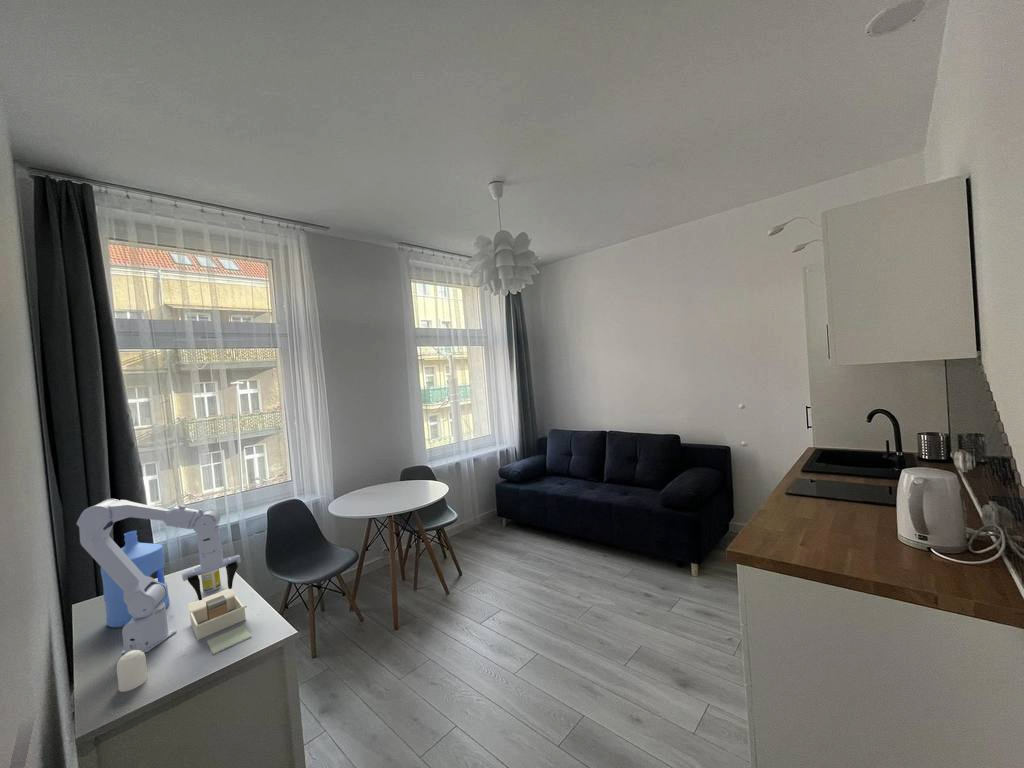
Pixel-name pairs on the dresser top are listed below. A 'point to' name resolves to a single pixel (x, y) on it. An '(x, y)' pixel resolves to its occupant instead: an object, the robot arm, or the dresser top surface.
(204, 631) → the carton
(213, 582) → the supplement bottle
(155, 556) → the water jug
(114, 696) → the dresser top surface
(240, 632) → the mat
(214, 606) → the walnut block
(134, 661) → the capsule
